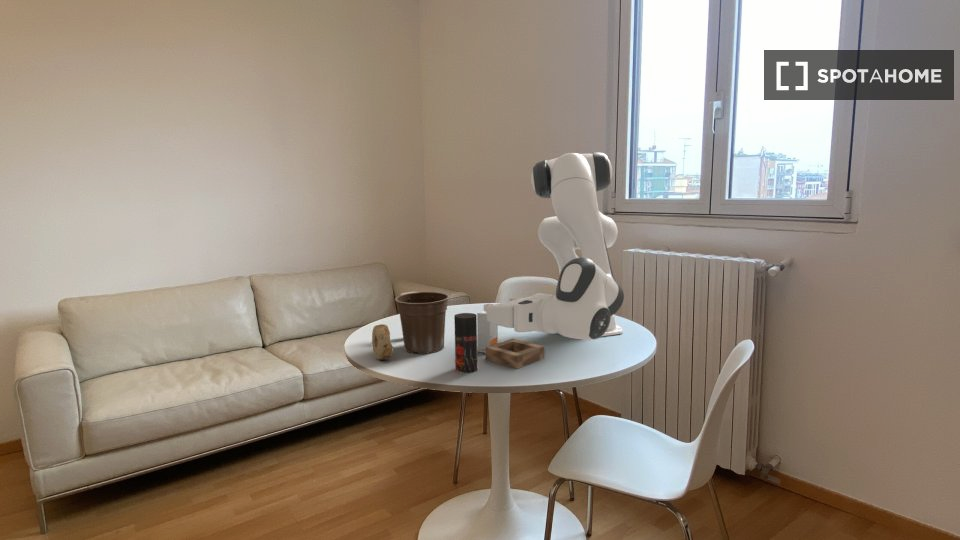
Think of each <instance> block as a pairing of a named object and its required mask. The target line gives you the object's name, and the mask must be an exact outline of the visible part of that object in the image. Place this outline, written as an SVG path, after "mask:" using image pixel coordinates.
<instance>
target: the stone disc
mask: <svg viewBox="0 0 960 540" xmlns="http://www.w3.org/2000/svg"><path fill="white" fill-rule="evenodd" d="M371 333H372V335H371V338H372V339H371V346H372V347H371V348H372V351H373V354H374V356H375V358H376V359H377V360H378V361H379V360H380V361H381V360H383V361H384V360H390V359H391V358H392V355H393V354H394V353H393V351H394V347H393V344H392V342H391V332H390V329H389V327H388V325H387V324H385V323H383V324H377V325H374V327H373V328H372V332H371Z"/></svg>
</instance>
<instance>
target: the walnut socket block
mask: <svg viewBox="0 0 960 540" xmlns="http://www.w3.org/2000/svg"><path fill="white" fill-rule="evenodd" d="M545 352H546V351H545V346H544V345H541V344H536V343H532V342H529V341H524V340H520V339H516V338H511V339H507V340H504V341H502V342H501V341H500V342H498V344H495V345H491V346H488V347H485V352H484V353H485V355H484V356H485V357H484V358H485V359H484V360H487V361H491V362H494V363H497V364H501V365H504V366H507V367H512V368H515V369H521V368H522V367H525V366H527V365H530V364H533V363H535V362H538V361H540V360H543V359H545V354H546V353H545Z"/></svg>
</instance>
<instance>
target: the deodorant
mask: <svg viewBox="0 0 960 540" xmlns="http://www.w3.org/2000/svg"><path fill="white" fill-rule="evenodd" d="M454 353H455V354H454V355H455V359H454V361H455V372H457V371H458V373H460V372H461V373H460V374H471V372H472V373H474V372H477V371H478V351H477V314H476V313H472V312H459V313H455V315H454Z"/></svg>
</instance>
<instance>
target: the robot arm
mask: <svg viewBox="0 0 960 540" xmlns="http://www.w3.org/2000/svg"><path fill="white" fill-rule="evenodd" d="M612 178H613V166H612V163H611V161H610V159H609V158H608V155H607V154H605V153H604V152H598V151H597V152H593V151H592V153H577V152H566V153H564V154H562V155H560V156H558V157H555V158H552V159H548V160H547V159H544V160H541V161H537V163H535V164H534V166H532V171H531V175H530V183H531V186H532V190H533V191H534V192H535V194H536V195H537V196H538V197H539V198H542V199H551V204H552V208H553V210H554V214H555V216H550V217H545V218H544V219H542V221H541V222H540V224H539V226H538V230H537V236H538V239H539V241H540V243H541V244H542V245H543V246H544V247H545V248H546V249H547V250H548V251H550V253H551V254H552V255H553V257H554V259H555V261H556V262H557V267H558V271H559V272H558V273H559V276H558V279H557V284H556V289H555V294H549V293H541V292H537V293H534V294H533V295H531V296H526V297H521V298H517V297H512V298H509V299H508V301H504V302H499V303H495V304H492V303H485V304H483V310H484V311H485V312H486V316H487V321H488V322H490V323H492V324H496V325H498V327H499V326H500V327H504V328H507V329H508V328H509V329H514V332H517V333H528V332H529V333H530V332H531V333H532V332H537V333H546V334H549V335H550V334H553V335H554V334H558V335H561V336H562V337H565V338H570V339H575V340H584V341H593V340H597V339H599V338H601V337H608V336H613V335H622V334H623V328H622V327H621V326H620V325H618V324H617V322H616V321H617V320H616V318H615V314H616V313H617V312H618V311H619V310H620V308H621V307H622V305H623V304H624V303H623V302H624V297H625V292H624V289H623V288H622V286H621V284H620V283H619V282H618V281H617V280H616V278H615V276H614V273H613V270H612V265H611V260H610V255H609V251H608V248H611V247H612V246H613V245H614V244H615V243H616V241H617V238H618V234H619V233H618V232H619V230H618V226H617V224H616V222H615V221H614V219H612V218H611V217H609V216H607V215H605V214H603V213H602V212H601V211H600V209H599V204H598V196H597V192H599V191H603V190H605V189H608V187H609V186H610V184H611V181H612ZM576 250H580V253H581V257H579V256H578V255H577V254H576Z"/></svg>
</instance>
